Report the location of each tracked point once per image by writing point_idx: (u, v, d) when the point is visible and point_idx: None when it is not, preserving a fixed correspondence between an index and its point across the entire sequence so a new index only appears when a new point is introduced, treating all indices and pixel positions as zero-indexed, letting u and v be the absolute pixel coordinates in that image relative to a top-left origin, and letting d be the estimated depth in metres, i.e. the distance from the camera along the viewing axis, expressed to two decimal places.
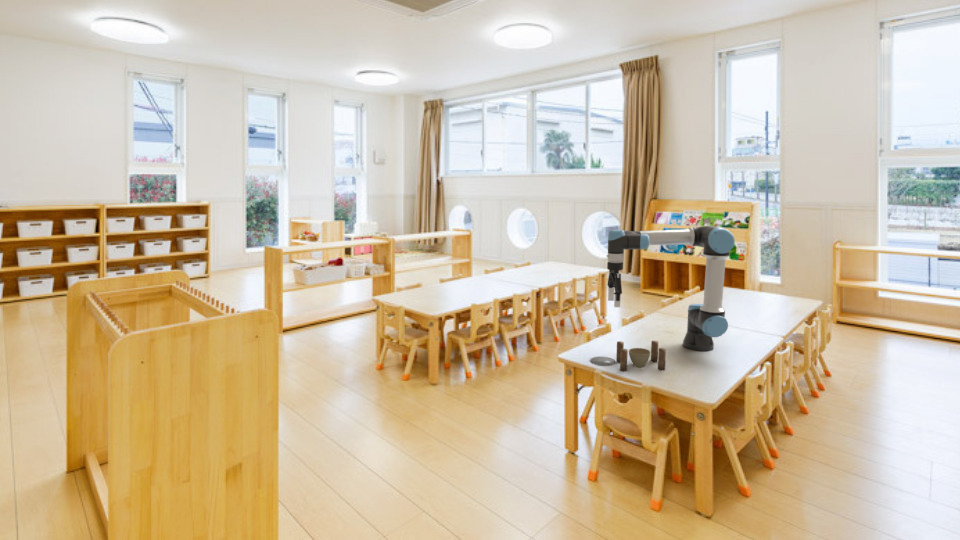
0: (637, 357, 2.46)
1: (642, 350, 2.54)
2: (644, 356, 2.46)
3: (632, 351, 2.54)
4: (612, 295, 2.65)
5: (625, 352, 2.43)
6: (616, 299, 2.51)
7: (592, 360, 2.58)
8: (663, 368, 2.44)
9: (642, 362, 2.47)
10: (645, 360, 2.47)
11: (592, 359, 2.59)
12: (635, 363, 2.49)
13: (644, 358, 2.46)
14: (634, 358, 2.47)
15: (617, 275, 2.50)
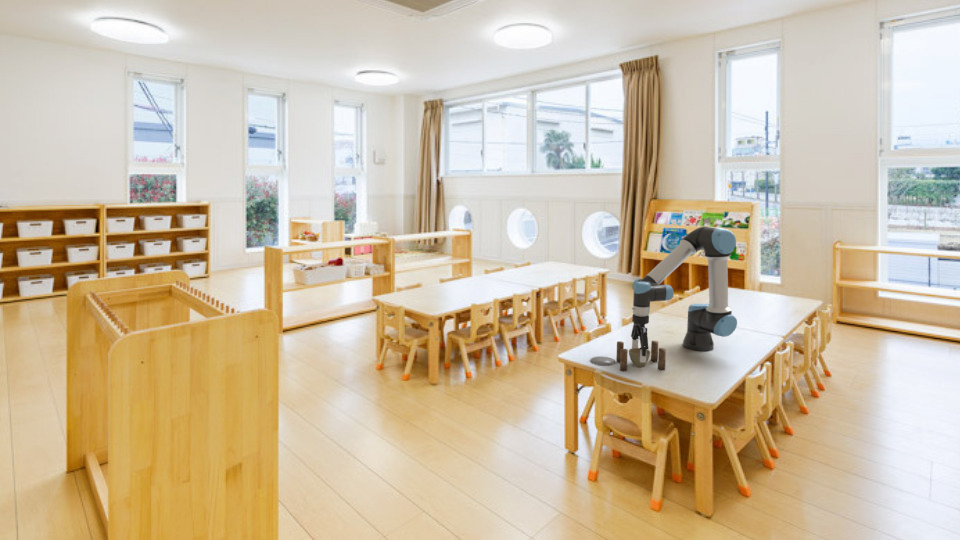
0: (637, 357, 2.46)
1: None
2: None
3: (632, 351, 2.54)
4: (636, 347, 2.57)
5: (625, 352, 2.43)
6: (642, 354, 2.42)
7: (592, 360, 2.58)
8: (663, 368, 2.44)
9: (642, 362, 2.47)
10: None
11: (592, 359, 2.59)
12: (635, 363, 2.49)
13: None
14: (634, 358, 2.47)
15: (643, 330, 2.41)
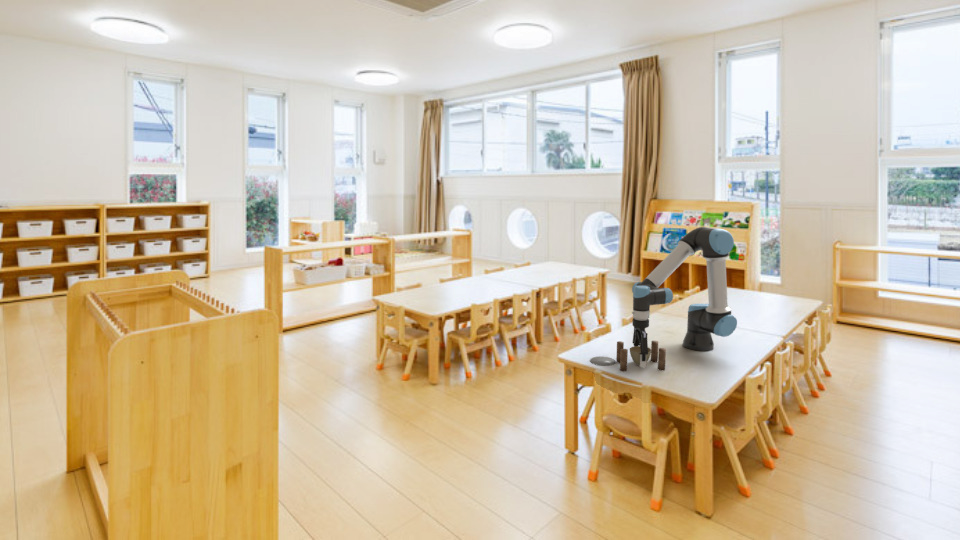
0: (638, 355, 2.46)
1: None
2: None
3: (633, 349, 2.54)
4: None
5: (625, 352, 2.43)
6: (642, 359, 2.45)
7: (592, 360, 2.58)
8: (663, 368, 2.44)
9: None
10: (646, 358, 2.47)
11: (592, 359, 2.59)
12: (636, 361, 2.49)
13: None
14: (635, 357, 2.47)
15: (644, 335, 2.42)
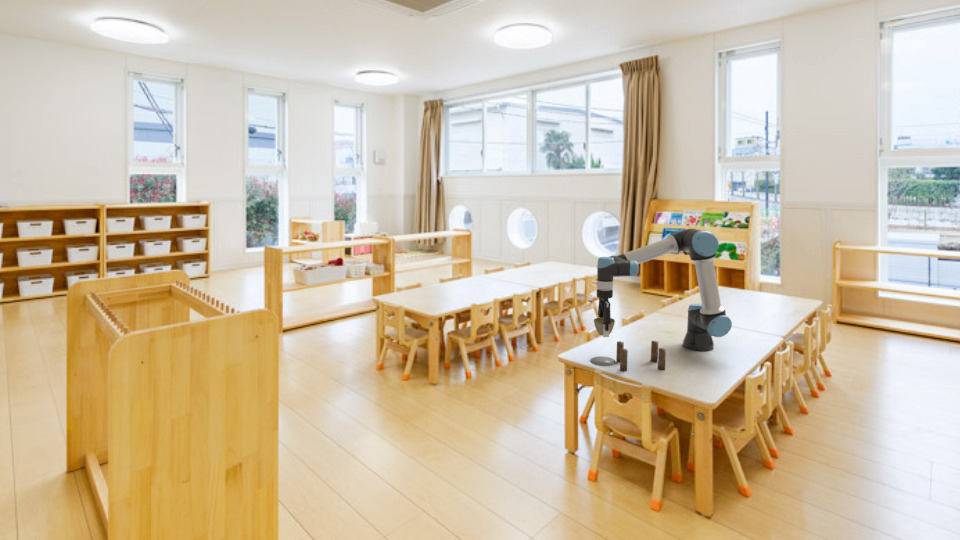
0: (601, 325, 2.50)
1: None
2: None
3: (597, 320, 2.58)
4: None
5: (625, 352, 2.43)
6: (605, 329, 2.48)
7: (592, 360, 2.58)
8: (663, 368, 2.44)
9: None
10: (609, 328, 2.51)
11: (592, 359, 2.59)
12: (600, 331, 2.52)
13: None
14: (599, 327, 2.51)
15: (606, 305, 2.46)
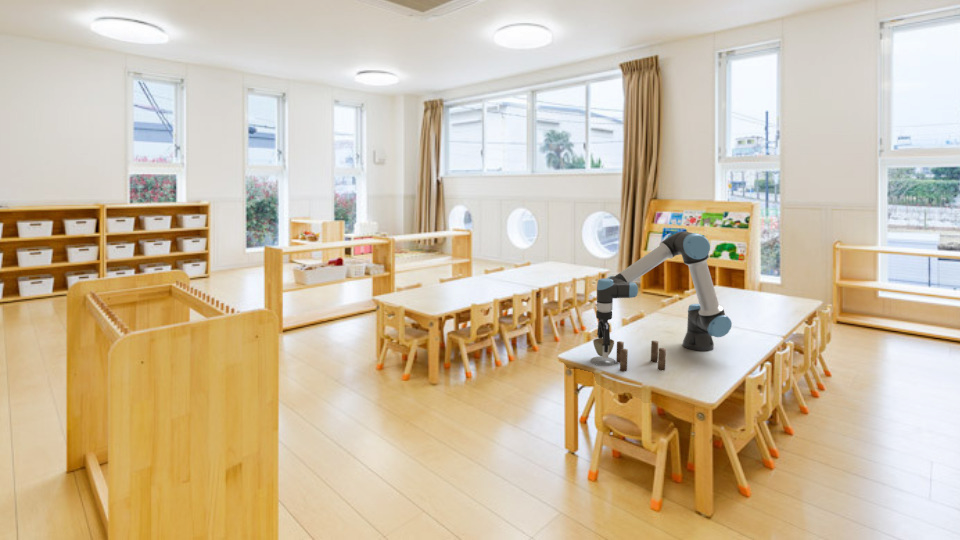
0: (601, 346, 2.52)
1: None
2: None
3: (597, 341, 2.60)
4: None
5: (625, 352, 2.43)
6: (604, 350, 2.50)
7: (592, 360, 2.58)
8: (663, 368, 2.44)
9: None
10: (609, 349, 2.53)
11: (592, 359, 2.59)
12: (599, 352, 2.54)
13: None
14: (598, 348, 2.53)
15: (606, 327, 2.48)
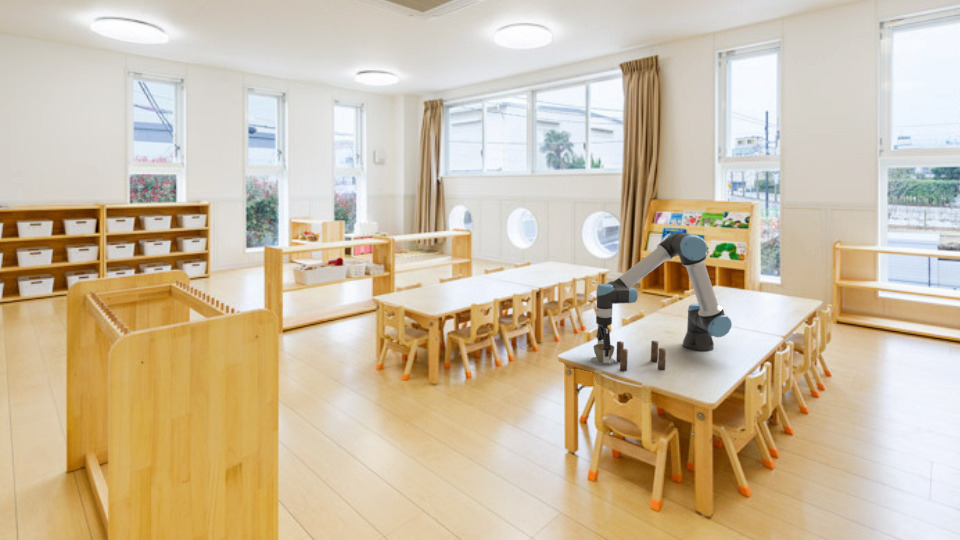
0: (601, 352, 2.53)
1: None
2: None
3: (597, 347, 2.61)
4: None
5: (625, 352, 2.43)
6: (605, 355, 2.49)
7: (592, 360, 2.58)
8: (663, 368, 2.44)
9: None
10: (609, 355, 2.53)
11: (592, 359, 2.59)
12: (599, 358, 2.55)
13: None
14: (599, 354, 2.54)
15: (606, 331, 2.48)
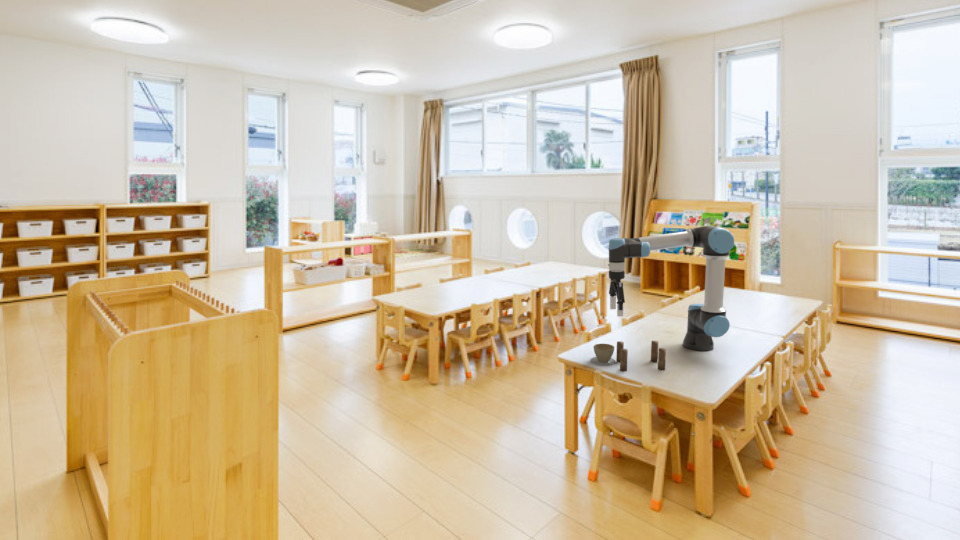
0: (601, 352, 2.53)
1: (607, 346, 2.60)
2: (608, 351, 2.52)
3: (597, 347, 2.61)
4: (614, 304, 2.64)
5: (625, 352, 2.43)
6: (619, 308, 2.50)
7: (592, 360, 2.58)
8: (663, 368, 2.44)
9: (606, 357, 2.53)
10: (609, 355, 2.53)
11: (592, 359, 2.59)
12: (599, 358, 2.55)
13: (607, 353, 2.52)
14: (599, 354, 2.54)
15: (619, 284, 2.49)
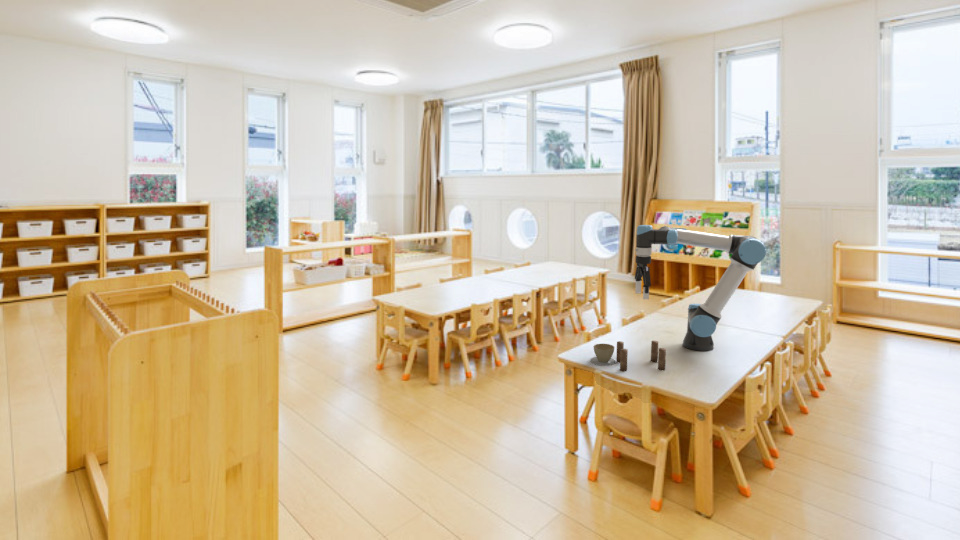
0: (601, 352, 2.53)
1: (607, 346, 2.60)
2: (608, 351, 2.52)
3: (597, 347, 2.61)
4: (639, 288, 2.75)
5: (625, 352, 2.43)
6: (645, 291, 2.61)
7: (592, 360, 2.58)
8: (663, 368, 2.44)
9: (606, 357, 2.53)
10: (609, 355, 2.53)
11: (592, 359, 2.59)
12: (599, 358, 2.55)
13: (607, 353, 2.52)
14: (599, 354, 2.54)
15: (646, 268, 2.60)
